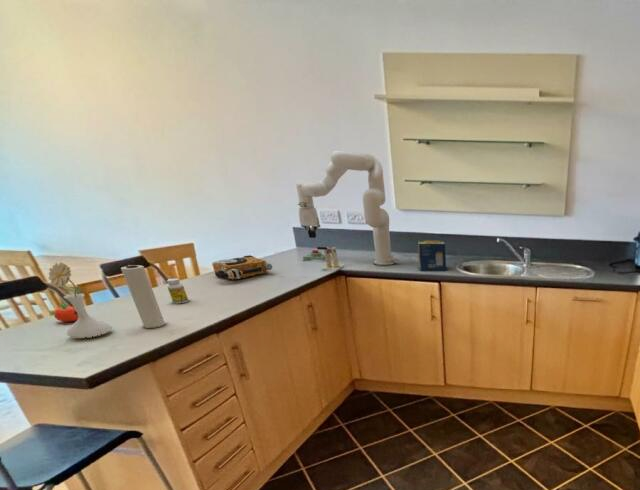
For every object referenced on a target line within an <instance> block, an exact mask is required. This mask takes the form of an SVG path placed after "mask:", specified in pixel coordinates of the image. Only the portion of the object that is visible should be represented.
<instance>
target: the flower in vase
mask: <svg viewBox="0 0 640 490" xmlns="http://www.w3.org/2000/svg"><path fill="white" fill-rule="evenodd" d="M48 270H49V272H48V275H49V276H48V280H49V281H50V284H51V285H52V286H53V287H54V286H56V288H62V289H64V290H66V291H69V292H72V294H67V295H64V296H63V298H64V299H65V300H67V301H68V302H69V303H70V304H71V305H72V307H74V308H75V309H76V311H77V314H78V320H76V321H74V323H72V325H71V326H70V327H69V329H68V330H67V332H66V335H67V336H68V337H70V338H73V339H88V338H95V337H99V336H103V335H106V334H107V333H109V332H111V331H112V330H113V326H112V325H111V324H110V323H108V322H106V321H103V320H100V319H97V318H94V317H93V316H90V315H89V313H88V312H87V310H86V307H85V305H84V297H85V293H84V291H83V290H82V288H81V287H80V286H79V285H78V286H76V285H75V283H74V282H73V281H72V280H71V277H72V273H71V267H70V266H69V265H68V264H66V263H64V262H62V261H60V262H59V263H57V262H55V263H54V264H53V265H52V267H50V268H48ZM69 282H70V283H71V284H72V286H73V287H74V288H73V287H70V286H68V285H66V284H68V283H69ZM101 334H102V335H101ZM97 335H98V336H97ZM92 336H93V337H92ZM85 337H87V338H85Z"/></svg>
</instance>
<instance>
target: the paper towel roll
mask: <svg viewBox="0 0 640 490" xmlns="http://www.w3.org/2000/svg"><path fill="white" fill-rule="evenodd" d="M120 271H121V272H122V275H123V277H124V279H125V282H126V285H127V288H128V290H129V293H130V295H131V297H132V300H133V303H134V305H135V307H136V310H137V313H138V315H139V317H140V320H141V322H142V325H143V327H144V328H147V329H153V328H154V329H155V328H160V327H162V326H164V325H165V320H164V317H163V314H162V312H161V309H160V306H159V304H158V301H157V298H156V295H155V293H154V290H153V287H152V285H151V282H150V280H149V277H148V274H147V272H146V269H145V266H144V265H140V264H127V265H125V266H122V267H120Z"/></svg>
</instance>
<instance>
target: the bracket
mask: <svg viewBox="0 0 640 490" xmlns="http://www.w3.org/2000/svg"><path fill="white" fill-rule="evenodd" d="M326 247H327V248H329V249H331V252H332V254H330V253H327V251H325V250H323V252H324V254H325V264H326V266H324V267H322V270H338V269H340V268H342V267H344V265H343V264H339V260H338V259H339V258H338V255H337V254H338V252H337V248H336V246H334V247H331V248H330V247H329V246H326ZM331 258H332V259H331Z"/></svg>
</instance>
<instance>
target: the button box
mask: <svg viewBox="0 0 640 490" xmlns="http://www.w3.org/2000/svg"><path fill="white" fill-rule="evenodd" d="M318 252H319V253H312V251H311V252H309V254H305V255H304V256H302V260H303V261H309V262H310V261H313V260H319V261H323V260H326V258H325V253H324V254H323V253H322V251H318Z"/></svg>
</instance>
